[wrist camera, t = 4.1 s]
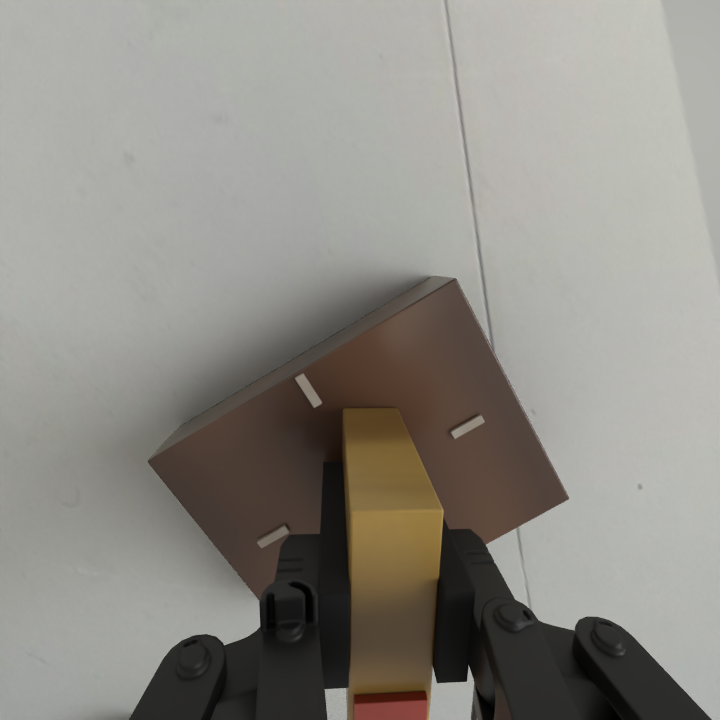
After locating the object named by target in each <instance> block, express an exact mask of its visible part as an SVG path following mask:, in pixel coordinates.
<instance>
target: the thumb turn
mask: <svg viewBox="0 0 720 720" xmlns="http://www.w3.org/2000/svg"><path fill="white" fill-rule="evenodd" d="M342 462H343V473H344V492H345V511H346V530H347V549H348V567H349V582H350V640H349V688H346V700H347V720H429V712H430V698H431V684H432V669H433V654H434V640H435V626H436V612H437V598H438V584H439V570H440V556H441V542H442V527H443V513H444V510H443V508H442V506H441V504H440V501H439V499H438V497H437V495H436V492H435V490H434V488H433V486H432V484H431V481H430V479H429V477H428V475H427V473H426V470H425V468H424V466H423V464H422V461H421V459H420V457H419V455H418V453H417V450H416V448H415V446H414V444H413V441H412V439H411V437H410V435H409V433H408V430H407V428H406V426H405V424H404V421H403V419H402V417H401V415H400V413H399V410H398V409H397V408H344V409H343V432H342Z"/></svg>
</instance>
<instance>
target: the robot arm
mask: <svg viewBox="0 0 720 720" xmlns="http://www.w3.org/2000/svg"><path fill="white" fill-rule="evenodd" d="M259 603H260V625H261V627H260V628H259V629H258V630H257V631H256V632H254V633H253V634H251V635H250V636H248V637H246V638H244V639H241V640H239V641H236V642H233V643H230V644H227V645H223V643H222V642H221V641H220V640H219V639H218V638H217V637H215V636H211V635H207V634H204V635H194V636H192V637H190V638H187V639H185V640H182V641H181V642H180V643H178V644H177V645H176V646H174V647H173V648H172V649H171V650H170V651H169V652H168V654H167V655H166V656H165V657H164V659H163V660H162V662H161V664H160V666H159V667H158V669H157V671H156V673H155V675H154V676H153V678H152V680H151V682H150V683H149V685H148V687H147V689H146V691H145V692H144V694H143V696H142V698H141V699H140V701H139V703H138V705H137V706H136V708H135V710H134V712H133V714H132V715H131V717H130V719H129V720H327V711H326V700H325V690H324V689H333V688H349V640H350V582H349V567H348V549H347V530H346V511H345V492H344V473H343V462H323V479H322V502H321V524H320V534H293V535H289V536H288V537H287V538H286V540H285V541H284V542H283V544H282V545H281V547H280V553H279V558H278V564H277V571H276V575H275V580H274V582H273V583H272V584H270V585H269V586H268V587H267V588H266V589H265V590H264V591H263V593H262V595H261V598H260V602H259ZM468 664H469V667H470V670H471V673H472V675H473V678H474V681H475V682H474V692H473V702H472V712H471V720H711V719H710V718H709V716H708V715H707V714H706V713H705V712H704V711H703V710H702V709H701V708H700V707H699V706H698V705H697V704H696V703H695V702H694V701H693V700H692V699H691V697H690V696H689V695H688V694H687V693H686V692H685V691H684V690H683V689H682V688H681V687H680V686H679V685H678V684H677V683H676V682H675V681H674V680H673V678H672V677H671V676H670V675H669V674H668V673H667V672H666V671H665V670H664V669H663V668H662V667H661V666H660V665H659V664H658V663H657V662H656V661H655V659H654V658H653V657H652V656H651V655H650V654H649V653H648V652H647V651H646V650H645V649H644V648H643V647H642V646H641V645H640V644H639V643H638V642H637V640H636V639H635V638H634V637H633V636H632V635H630V634H629V633H628V632H627V631H626V630H625V629H623V628H622V627H621V626H619V625H617V624H615V623H613V622H611V621H610V620H606V619H603V618H599V617H585V618H583V619H580V620H579V621H578V623H577V624H576V626H575V631H573V630H569V629H565V628H560V627H556V626H552V625H549V624H546V623H543V622H541V621H539V620H538V619H537V618H536V616H535V615H534V613H533V612H532V611H531V610H530V609H529V608H528V607H526V606H525V605H524V604H523V603H520V602H518V601H516V600H515V599H514V597H513V595H512V593H511V591H510V590H509V588H508V586H507V584H506V582H505V580H504V578H503V577H502V575H501V573H500V571H499V569H498V567H497V566H496V564H495V563H494V560H493V558H492V556H491V554H490V553H489V551H488V549H487V547H486V545H485V543H484V542H483V540H482V538H480V537H479V536H478V535H477V534H476V533H475V532H473V531H472V530H471V529H449V528H448V525H447V523H446V521H445V519H444V516H443V527H442V542H441V556H440V570H439V584H438V598H437V612H436V626H435V640H434V654H433V668H434V672H435V676H436V680H437V683H447V682H467V675H468Z"/></svg>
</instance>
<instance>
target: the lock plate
mask: <svg viewBox="0 0 720 720" xmlns="http://www.w3.org/2000/svg"><path fill="white" fill-rule="evenodd" d="M344 408H397V409H398V410H399V413H400V415H401V417H402V419H403V421H404V424H405V426H406V428H407V430H408V433H409V435H410V437H411V439H412V441H413V444H414V446H415V448H416V450H417V453H418V455H419V457H420V459H421V461H422V464H423V466H424V468H425V470H426V473H427V475H428V477H429V479H430V481H431V484H432V486H433V488H434V490H435V492H436V495H437V497H438V499H439V501H440V504H441V506H442V508H443V510H444V513H443V516H444V519H445V521H446V523H447V525H448V528H449V529H471V530H472V531H473V532H475V533H476V534H477V535H478V536H479V537H480V538H482V540H483V542H484V543H485V545H486V544H487V543H489V542H491V541H493V540H495V539H497V538H499V537H500V536H502V535H504V534H506V533H508V532H510V531H511V530H513V529H515V528H517V527H519V526H521V525H522V524H524V523H526V522H528V521H530V520H532V519H533V518H535V517H537V516H539V515H541V514H543V513H544V512H546V511H548V510H550V509H552V508H554V507H555V506H557V505H559V504H561V503H563V502H565V501H566V500H568V499H569V497H568V495H567V493H566V491H565V489H564V487H563V485H562V483H561V481H560V479H559V477H558V475H557V473H556V472H555V470H554V468H553V466H552V464H551V462H550V460H549V458H548V456H547V454H546V452H545V450H544V448H543V446H542V444H541V442H540V440H539V439H538V437H537V435H536V433H535V431H534V429H533V427H532V425H531V423H530V421H529V419H528V417H527V415H526V413H525V411H524V409H523V407H522V406H521V404H520V402H519V400H518V398H517V396H516V394H515V392H514V390H513V388H512V386H511V384H510V382H509V380H508V378H507V376H506V374H505V373H504V371H503V369H502V367H501V365H500V363H499V361H498V359H497V357H496V355H495V353H494V351H493V349H492V347H491V345H490V343H489V341H488V340H487V338H486V336H485V334H484V332H483V330H482V328H481V326H480V324H479V322H478V320H477V318H476V316H475V314H474V312H473V310H472V308H471V307H470V305H469V303H468V301H467V299H466V297H465V295H464V293H463V291H462V289H461V287H460V285H459V283H458V281H457V279H455V278H448V277H439V276H432V277H430V278H428V279H427V280H425V281H423V282H422V283H420V284H418V285H417V286H415V287H413V288H412V289H410V290H408V291H407V292H405V293H403V294H402V295H400V296H398V297H397V298H395V299H393V300H392V301H390V302H388V303H386V304H385V305H383V306H381V307H380V308H378V309H376V310H375V311H373V312H371V313H370V314H368V315H366V316H365V317H363V318H361V319H360V320H358V321H356V322H355V323H353V324H351V325H350V326H348V327H346V328H344V329H343V330H341V331H339V332H338V333H336V334H334V335H333V336H331V337H329V338H328V339H326V340H324V341H323V342H321V343H319V344H318V345H316V346H314V347H313V348H311V349H309V350H308V351H306V352H304V353H303V354H301V355H299V356H297V357H296V358H294V359H292V360H291V361H289V362H287V363H286V364H284V365H282V366H281V367H279V368H277V369H276V370H274V371H272V372H271V373H269V374H267V375H266V376H264V377H262V378H261V379H259V380H257V381H255V382H254V383H252V384H250V385H249V386H247V387H245V388H244V389H242V390H240V391H239V392H237V393H235V394H234V395H232V396H230V397H229V398H227V399H225V400H224V401H222V402H220V403H219V404H217V405H215V406H213V407H212V408H210V409H208V410H207V411H205V412H203V413H202V414H200V415H198V416H197V417H195V418H193V419H192V420H190V421H188V422H187V423H185V424H183V425H182V426H180V427H179V428H178V429H177V430H176V431H175V432H174V433H173V434H172V435H171V436H170V437H169V438H168V439H167V440H166V441H165V443H164V444H163V445H162V446H161V447H160V448H159V449H158V450H157V451H156V452H155V453H154V454H153V455H152V456H151V457H150V459H149V460H148V463H149V464H150V465H151V467H152V468H153V469H154V470H155V472H156V473H157V474H158V475H159V477H160V478H161V479H162V480H163V482H164V483H165V484H166V485H167V487H168V488H169V489H170V490H171V492H172V493H173V494H174V495H175V496H176V498H177V499H178V500H179V501H180V503H181V504H182V505H183V506H184V508H185V509H186V510H187V511H188V513H189V514H190V515H191V516H192V518H193V519H194V520H195V521H196V523H197V524H198V525H199V526H200V528H201V529H202V530H203V531H204V533H205V534H206V535H207V536H208V537H209V539H210V540H211V541H212V542H213V544H214V545H215V546H216V547H217V549H218V550H219V551H220V552H221V554H222V555H223V556H224V557H225V559H226V560H227V561H228V562H229V564H230V565H231V566H232V567H233V569H234V570H235V571H236V572H237V573H238V575H239V576H240V577H241V578H242V580H243V581H244V582H245V583H246V585H247V586H248V587H249V588H250V590H251V591H252V592H253V593H254V595H255V596H256V597H257V598H258V600H259V601H260V598H261V595H262V593H263V591H264V590H265V589H266V588H267V587H268V586H269V585H270V584H272V583H273V582H274V580H275V575H276V571H277V564H278V558H279V553H280V547H281V545H282V544H283V542H284V541H285V540H286V538H287V537H288V536H289V535H293V534H320V524H321V502H322V479H323V462H342V432H343V409H344Z"/></svg>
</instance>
